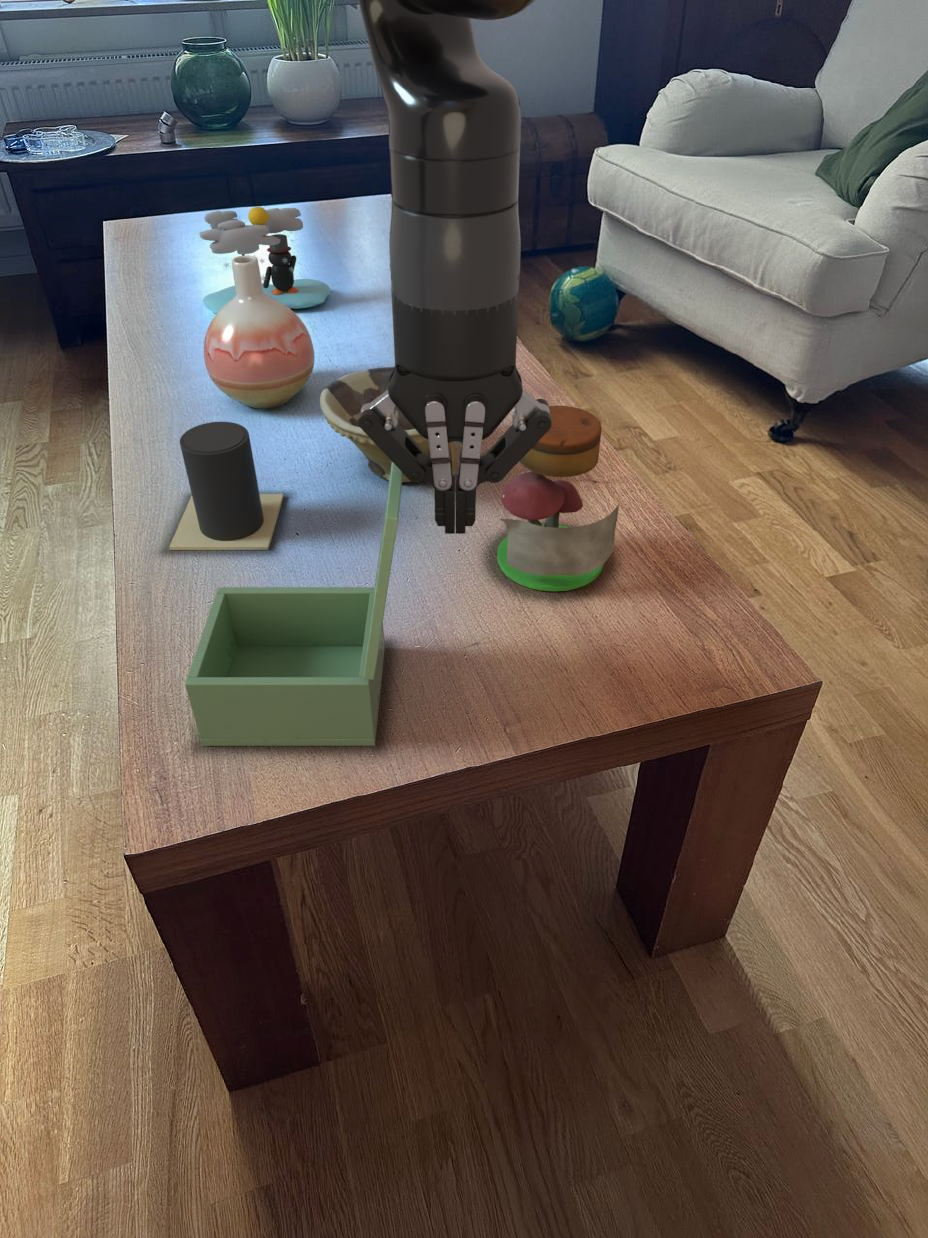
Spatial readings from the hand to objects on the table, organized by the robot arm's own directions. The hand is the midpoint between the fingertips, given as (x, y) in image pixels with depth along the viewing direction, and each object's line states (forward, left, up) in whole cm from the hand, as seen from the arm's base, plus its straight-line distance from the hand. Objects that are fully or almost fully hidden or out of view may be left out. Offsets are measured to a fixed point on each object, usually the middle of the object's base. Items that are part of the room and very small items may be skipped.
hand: (455, 527), depth 63 cm
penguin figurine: (-30, +87, -17) cm, 93 cm away
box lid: (-6, 0, -2) cm, 6 cm away
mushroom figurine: (+9, +19, -17) cm, 27 cm away
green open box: (-13, 0, -17) cm, 21 cm away
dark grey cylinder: (-24, +25, -16) cm, 38 cm away
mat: (-24, +26, -17) cm, 39 cm away
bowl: (-6, +37, -17) cm, 41 cm away
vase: (-25, +55, -17) cm, 62 cm away
